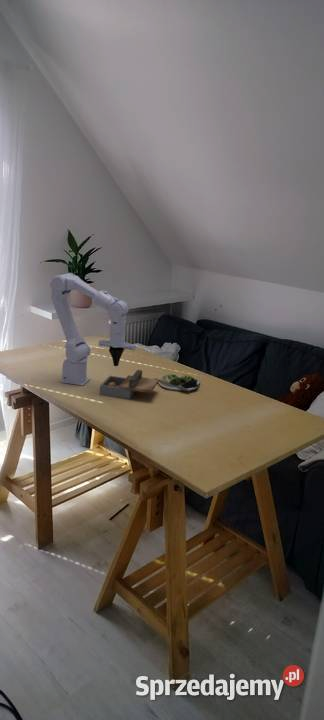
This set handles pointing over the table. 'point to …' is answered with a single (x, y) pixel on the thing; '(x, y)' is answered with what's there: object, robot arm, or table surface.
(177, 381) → the salad plate
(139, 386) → the lid
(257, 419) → the table surface
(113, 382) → the ball
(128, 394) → the storage box
